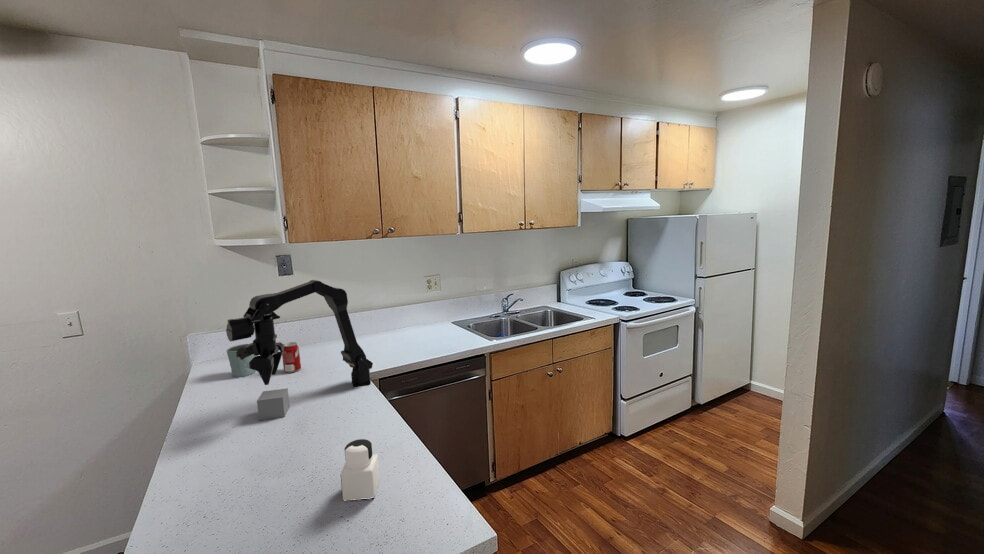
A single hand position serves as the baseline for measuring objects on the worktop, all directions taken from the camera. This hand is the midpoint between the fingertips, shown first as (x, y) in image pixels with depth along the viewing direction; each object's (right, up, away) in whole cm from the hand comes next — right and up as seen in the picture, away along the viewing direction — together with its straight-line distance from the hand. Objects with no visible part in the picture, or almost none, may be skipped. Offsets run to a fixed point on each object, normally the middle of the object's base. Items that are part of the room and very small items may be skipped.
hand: (270, 379), depth 140 cm
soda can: (-13, -7, +42) cm, 45 cm away
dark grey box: (+1, -12, +2) cm, 12 cm away
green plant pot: (-33, -8, +40) cm, 53 cm away
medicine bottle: (+43, -17, -41) cm, 62 cm away
